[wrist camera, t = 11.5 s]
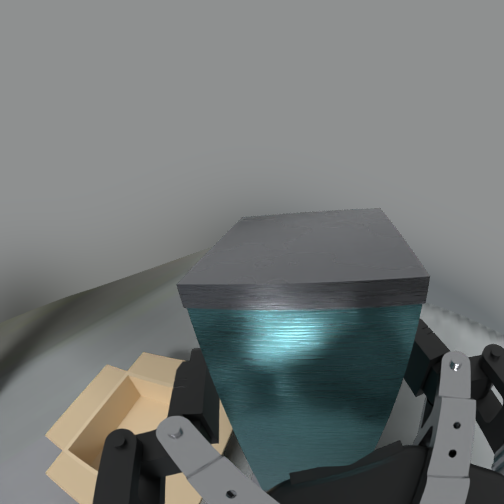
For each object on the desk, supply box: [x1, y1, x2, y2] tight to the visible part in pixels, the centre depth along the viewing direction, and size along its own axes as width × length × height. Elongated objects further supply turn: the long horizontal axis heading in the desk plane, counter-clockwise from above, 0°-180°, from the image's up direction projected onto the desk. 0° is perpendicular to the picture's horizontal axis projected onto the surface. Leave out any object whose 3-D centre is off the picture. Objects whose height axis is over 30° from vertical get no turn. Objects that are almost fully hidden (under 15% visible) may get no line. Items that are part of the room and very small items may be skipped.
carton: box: [45, 352, 233, 504], centre depth 16 cm, size 15×17×4 cm
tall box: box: [177, 208, 430, 492], centre depth 10 cm, size 5×5×17 cm
